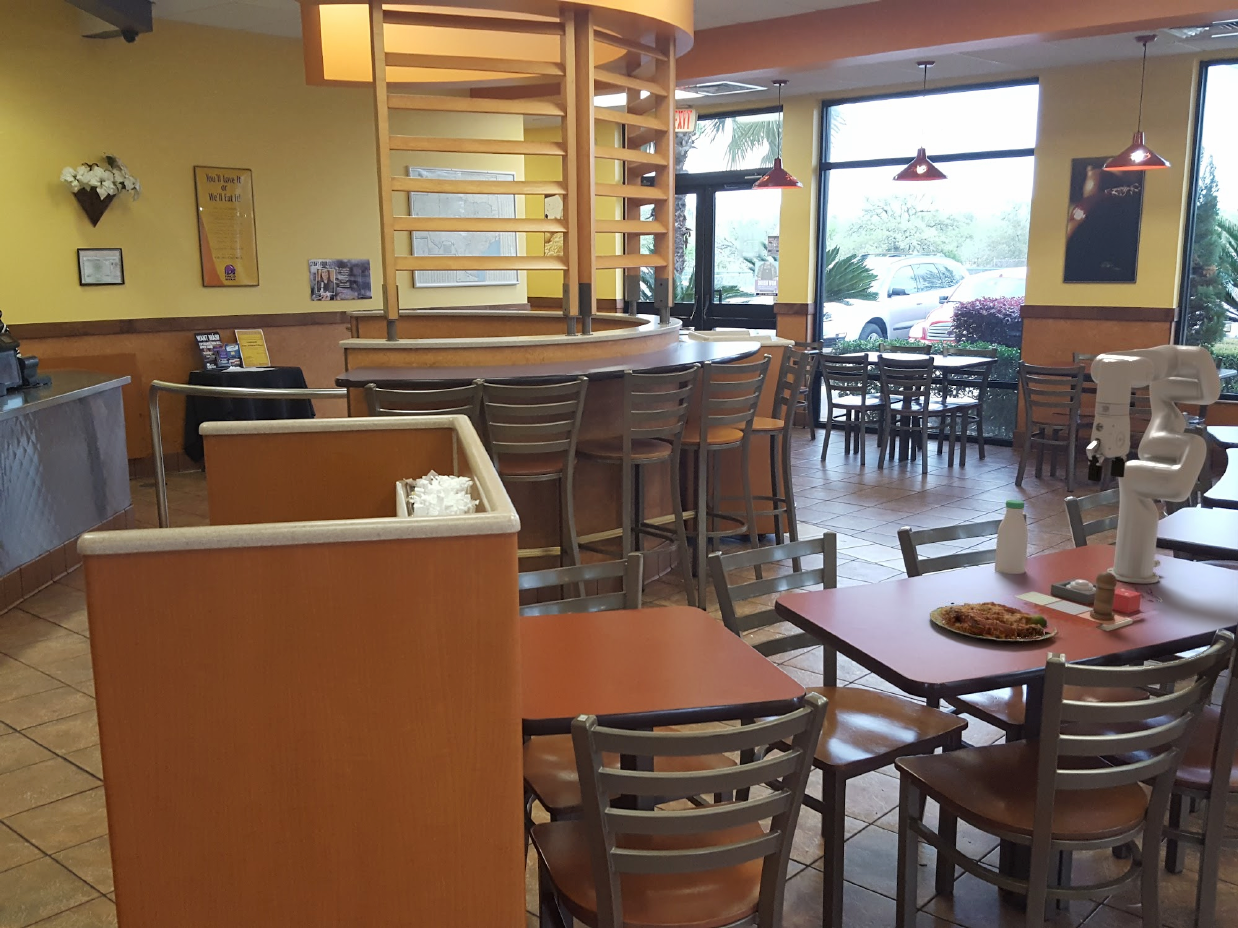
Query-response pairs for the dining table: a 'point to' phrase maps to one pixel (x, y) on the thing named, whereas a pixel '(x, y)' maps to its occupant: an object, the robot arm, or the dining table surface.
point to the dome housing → (1073, 592)
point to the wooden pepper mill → (1104, 597)
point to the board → (1073, 609)
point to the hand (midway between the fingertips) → (1105, 478)
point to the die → (1126, 601)
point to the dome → (1081, 586)
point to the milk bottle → (1012, 540)
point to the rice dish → (991, 621)
